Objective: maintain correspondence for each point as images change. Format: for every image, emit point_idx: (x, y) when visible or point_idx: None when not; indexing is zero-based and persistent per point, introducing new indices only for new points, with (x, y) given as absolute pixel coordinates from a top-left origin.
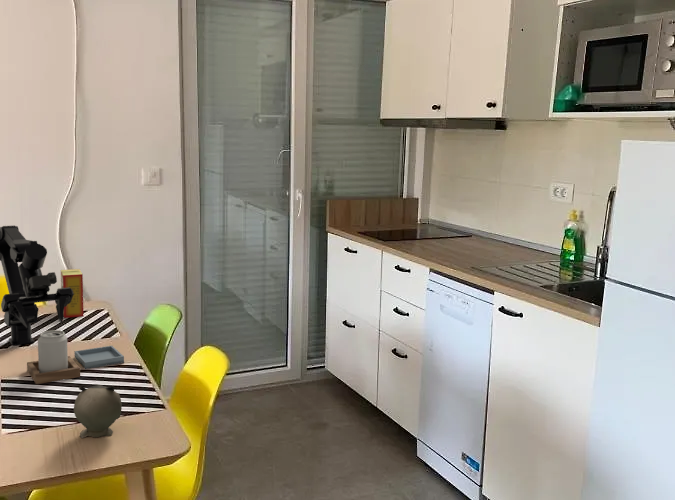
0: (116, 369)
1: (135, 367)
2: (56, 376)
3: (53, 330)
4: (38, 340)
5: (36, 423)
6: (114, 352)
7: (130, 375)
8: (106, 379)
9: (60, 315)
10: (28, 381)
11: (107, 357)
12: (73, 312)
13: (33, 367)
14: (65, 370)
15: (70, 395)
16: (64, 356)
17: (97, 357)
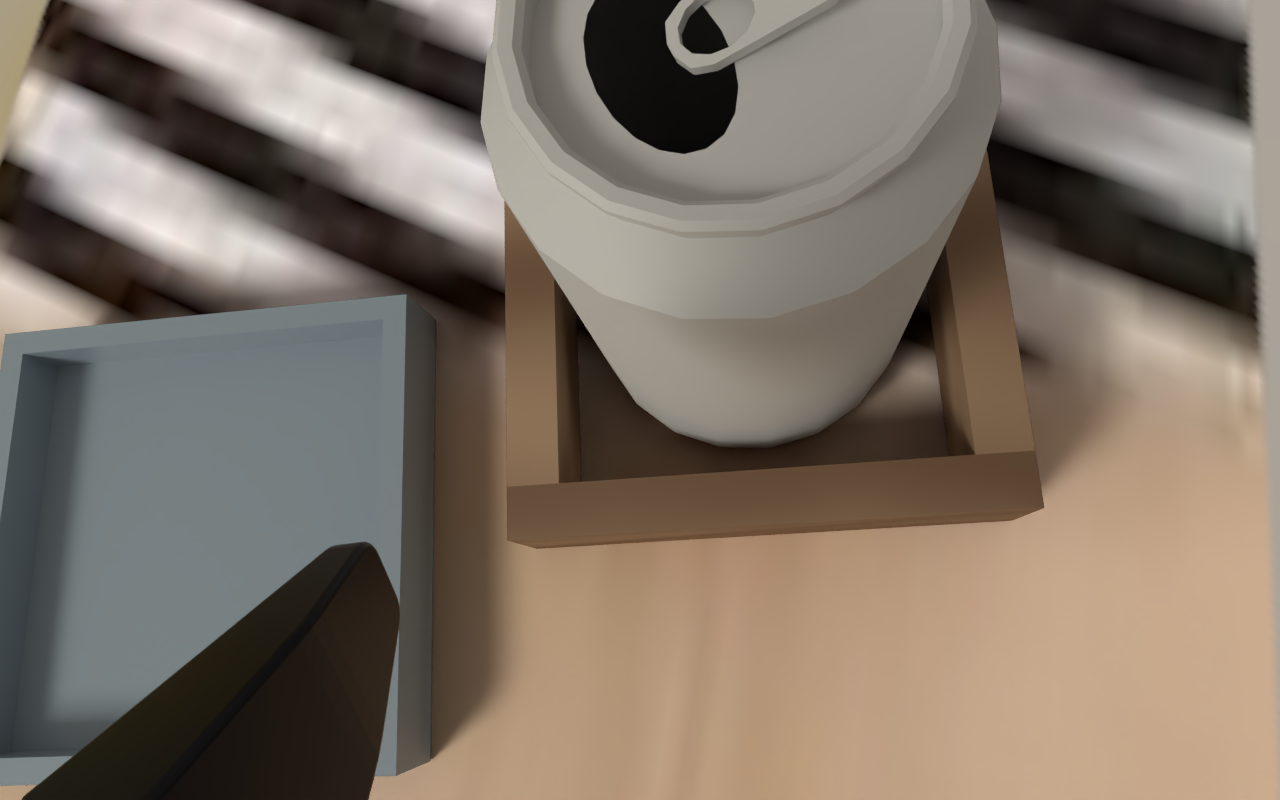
0: (191, 209)
1: (36, 198)
2: None
3: (666, 196)
4: (993, 34)
5: None
6: (18, 602)
7: (152, 31)
8: (350, 8)
9: (284, 638)
10: (1016, 195)
11: (138, 502)
12: None
13: (974, 287)
14: None
15: None
16: (617, 100)
17: (224, 550)
